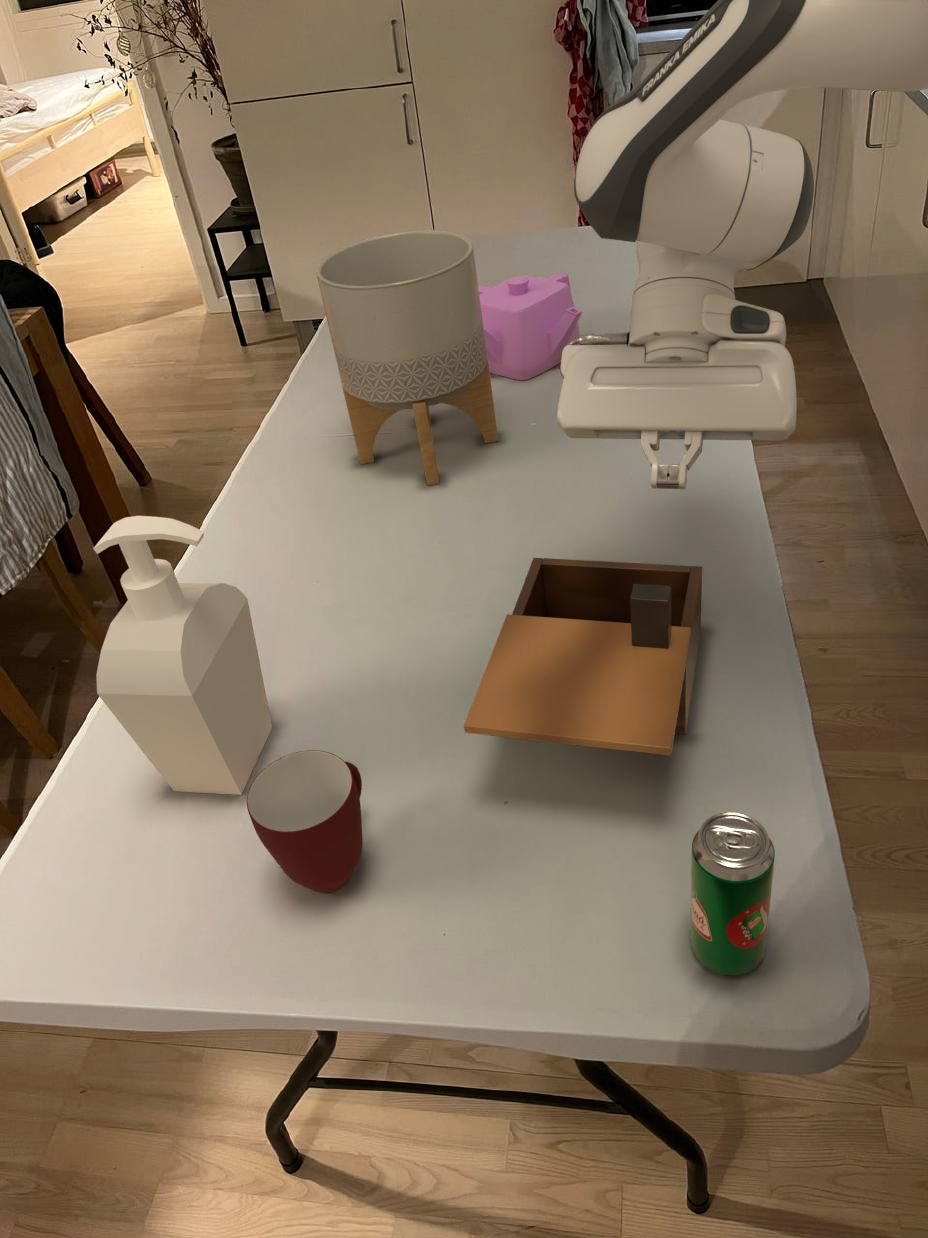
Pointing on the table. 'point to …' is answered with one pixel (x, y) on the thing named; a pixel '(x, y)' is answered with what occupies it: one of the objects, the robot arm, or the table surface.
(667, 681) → the sliding lid
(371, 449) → the planter
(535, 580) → the storage box
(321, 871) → the mug
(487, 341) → the teakettle
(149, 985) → the table surface
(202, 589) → the soap bottle
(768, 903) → the soda can
